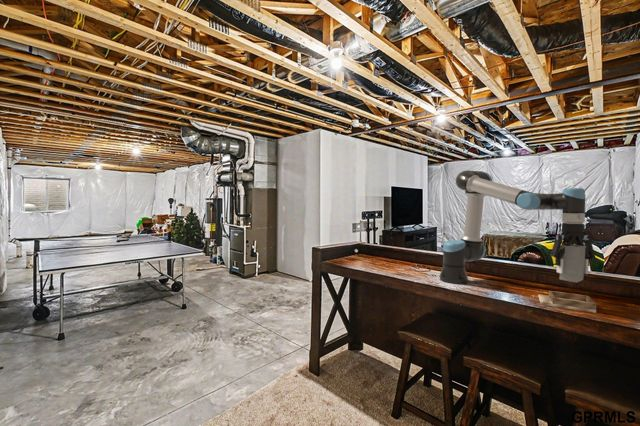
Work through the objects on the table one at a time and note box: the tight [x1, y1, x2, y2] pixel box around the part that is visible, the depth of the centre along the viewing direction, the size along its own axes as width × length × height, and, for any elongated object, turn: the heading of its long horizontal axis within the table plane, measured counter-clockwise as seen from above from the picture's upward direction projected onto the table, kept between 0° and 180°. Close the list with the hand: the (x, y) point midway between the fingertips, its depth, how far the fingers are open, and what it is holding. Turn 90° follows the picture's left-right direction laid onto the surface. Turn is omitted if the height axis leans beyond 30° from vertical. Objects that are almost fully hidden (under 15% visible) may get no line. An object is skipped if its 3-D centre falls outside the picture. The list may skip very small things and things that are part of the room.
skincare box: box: [559, 244, 586, 283], centre depth 126 cm, size 8×7×16 cm
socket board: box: [537, 290, 597, 314], centre depth 128 cm, size 18×13×4 cm
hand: (572, 273), depth 126 cm, fingers closed on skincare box, 10 cm apart
